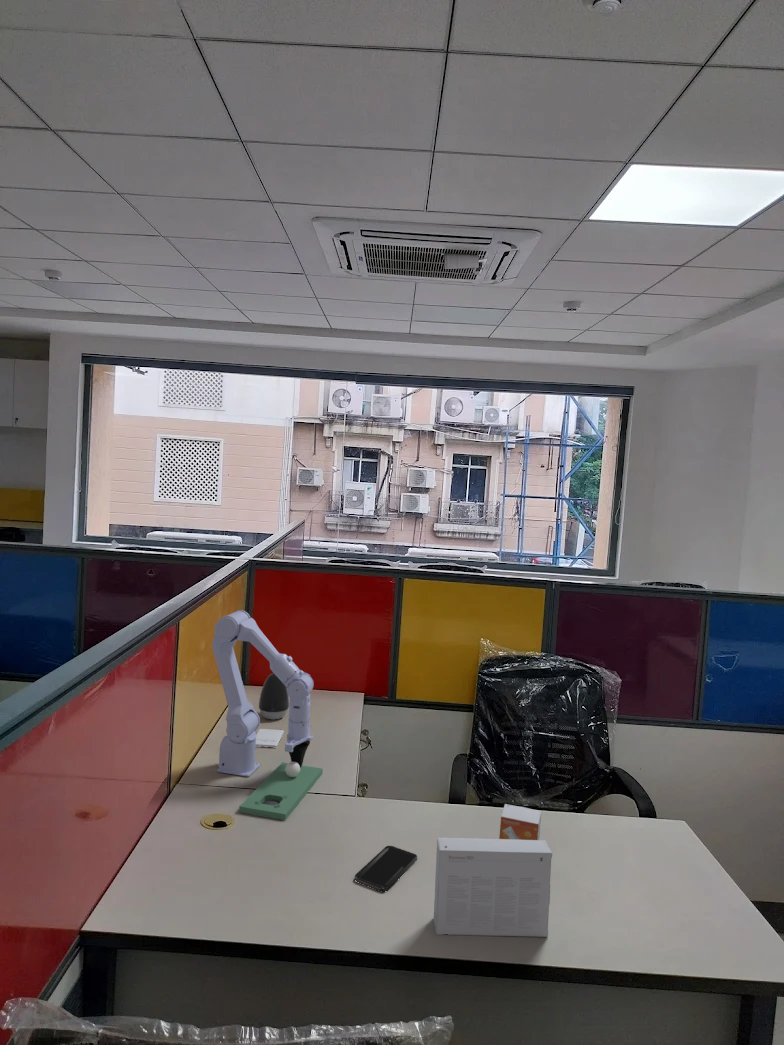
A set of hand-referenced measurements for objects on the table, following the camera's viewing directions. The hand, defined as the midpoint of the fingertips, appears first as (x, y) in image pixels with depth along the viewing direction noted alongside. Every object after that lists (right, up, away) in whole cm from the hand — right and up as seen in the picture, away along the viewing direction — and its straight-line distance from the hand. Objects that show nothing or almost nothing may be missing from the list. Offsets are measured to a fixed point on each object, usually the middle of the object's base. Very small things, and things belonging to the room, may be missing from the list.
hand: (297, 767), depth 183 cm
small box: (+53, -8, -39) cm, 67 cm away
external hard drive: (-13, -1, +25) cm, 28 cm away
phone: (+25, -7, -41) cm, 49 cm away
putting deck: (-2, -3, -9) cm, 10 cm away
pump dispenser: (-14, +1, +45) cm, 47 cm away
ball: (-1, +1, -3) cm, 3 cm away
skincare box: (+44, -9, -58) cm, 74 cm away
